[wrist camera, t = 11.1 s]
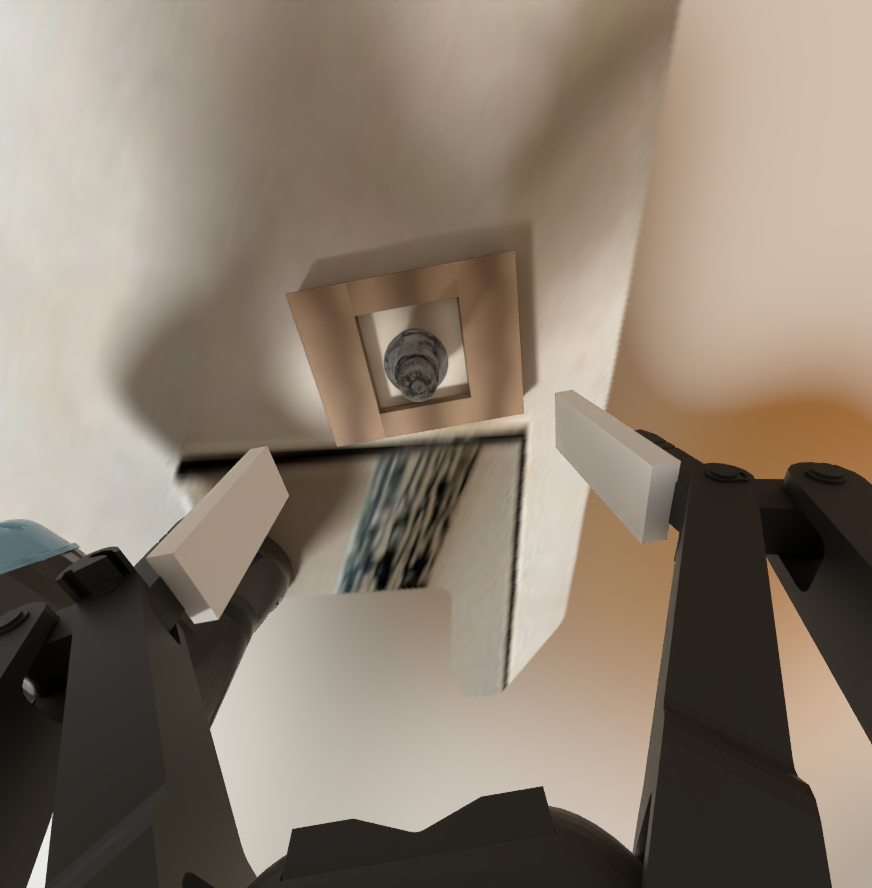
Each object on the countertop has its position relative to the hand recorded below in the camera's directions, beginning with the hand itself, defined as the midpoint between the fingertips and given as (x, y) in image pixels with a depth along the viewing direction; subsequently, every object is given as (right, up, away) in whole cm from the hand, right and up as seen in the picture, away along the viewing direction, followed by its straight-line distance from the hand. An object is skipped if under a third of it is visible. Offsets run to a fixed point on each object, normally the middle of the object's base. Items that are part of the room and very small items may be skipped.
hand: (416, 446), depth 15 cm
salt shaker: (-1, +9, +18) cm, 21 cm away
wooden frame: (-1, +10, +19) cm, 22 cm away
